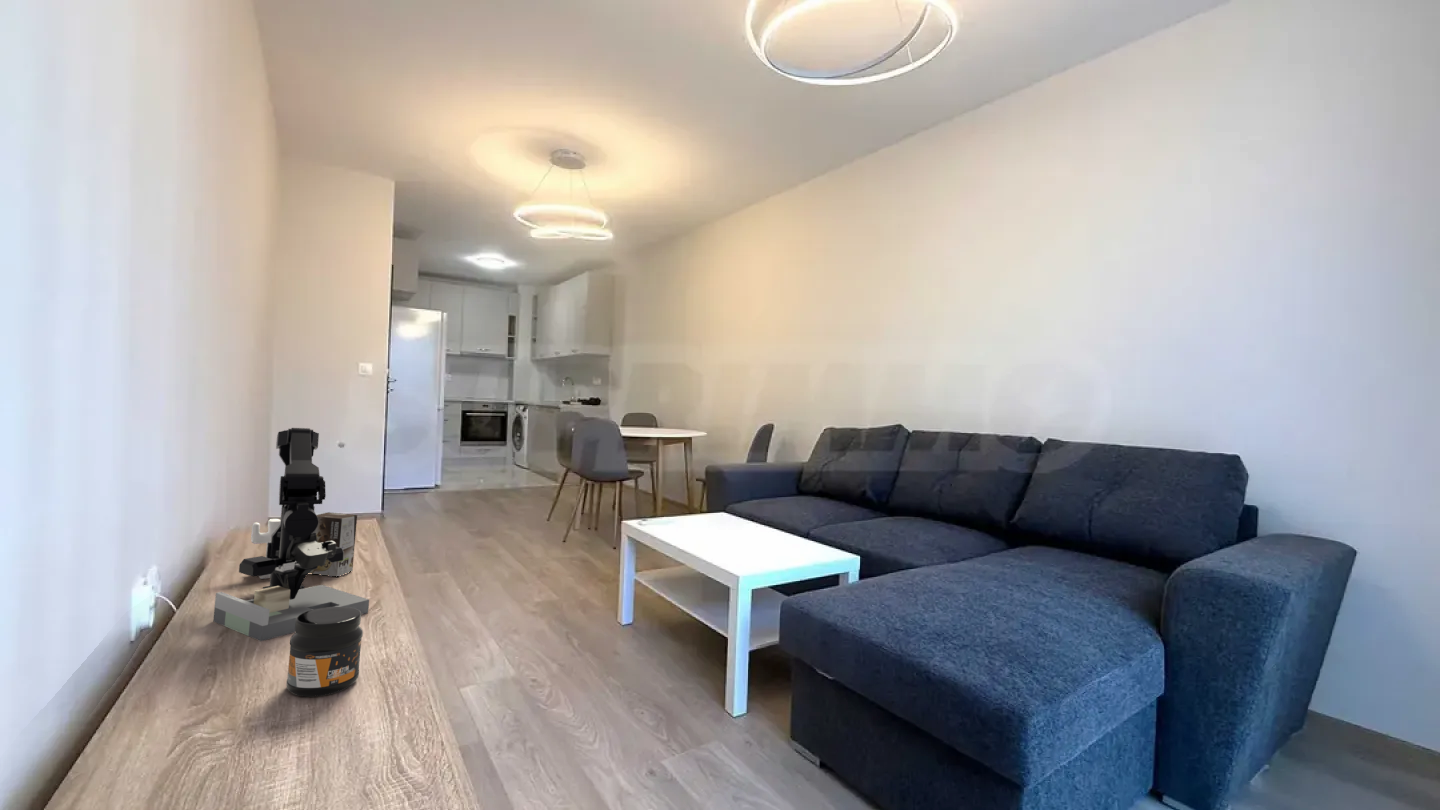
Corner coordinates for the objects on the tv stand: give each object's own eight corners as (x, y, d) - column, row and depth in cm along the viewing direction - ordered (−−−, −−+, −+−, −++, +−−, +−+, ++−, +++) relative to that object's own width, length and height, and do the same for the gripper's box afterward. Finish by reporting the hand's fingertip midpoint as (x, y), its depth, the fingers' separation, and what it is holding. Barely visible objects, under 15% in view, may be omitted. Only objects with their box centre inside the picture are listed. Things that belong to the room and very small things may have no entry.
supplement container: (294, 705, 95) (301, 630, 96) (278, 682, 102) (285, 612, 103) (367, 687, 103) (373, 617, 103) (348, 666, 110) (353, 601, 110)
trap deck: (213, 621, 126) (215, 592, 126) (320, 596, 146) (323, 572, 146) (261, 641, 118) (263, 610, 118) (368, 612, 138) (370, 586, 138)
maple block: (253, 609, 126) (254, 590, 126) (276, 604, 130) (278, 585, 131) (265, 613, 124) (267, 594, 125) (288, 608, 129) (290, 589, 129)
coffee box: (353, 571, 168) (358, 514, 168) (336, 577, 162) (342, 518, 162) (323, 568, 169) (328, 511, 169) (305, 574, 162) (311, 515, 163)
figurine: (293, 576, 160) (299, 520, 160) (249, 581, 153) (255, 523, 153) (288, 570, 165) (293, 515, 165) (244, 574, 158) (250, 518, 158)
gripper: (271, 540, 119) (265, 618, 119) (361, 527, 136) (356, 595, 136) (240, 532, 124) (234, 607, 124) (331, 520, 141) (326, 586, 141)
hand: (291, 599), depth 131 cm, fingers closed
